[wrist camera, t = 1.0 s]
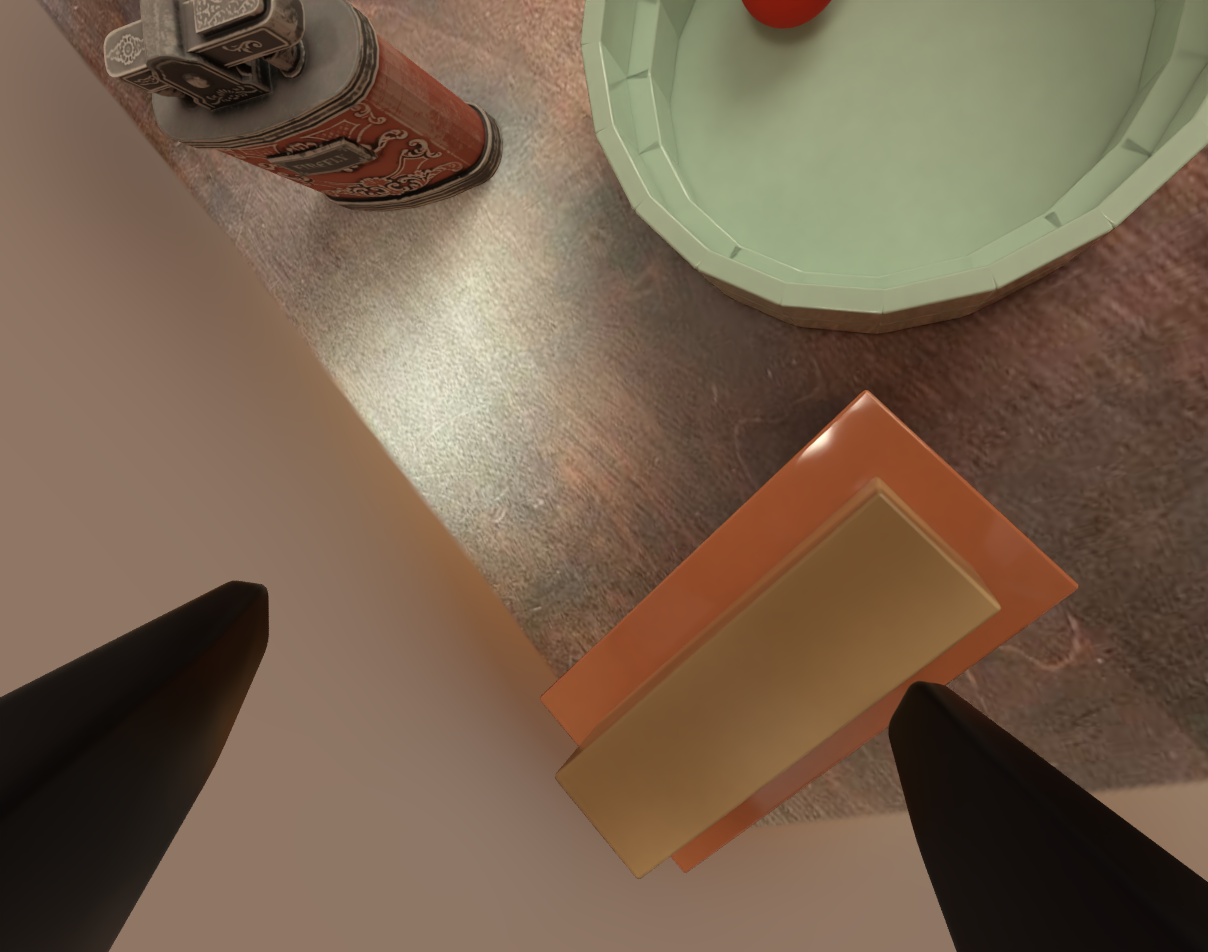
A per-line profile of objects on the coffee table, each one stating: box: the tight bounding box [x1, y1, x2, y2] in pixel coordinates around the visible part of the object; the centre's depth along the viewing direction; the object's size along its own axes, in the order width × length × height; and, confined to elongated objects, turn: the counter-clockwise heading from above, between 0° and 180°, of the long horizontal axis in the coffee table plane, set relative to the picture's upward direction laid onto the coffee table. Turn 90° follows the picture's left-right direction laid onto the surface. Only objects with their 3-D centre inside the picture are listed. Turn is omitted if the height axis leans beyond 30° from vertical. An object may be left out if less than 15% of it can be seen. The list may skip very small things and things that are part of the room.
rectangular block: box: [540, 390, 1079, 873], centre depth 18 cm, size 5×10×9 cm, turn 137°
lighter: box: [104, 0, 503, 211], centre depth 21 cm, size 8×3×10 cm, turn 93°
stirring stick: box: [555, 477, 1001, 879], centre depth 12 cm, size 2×8×3 cm, turn 136°
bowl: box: [581, 0, 1208, 334], centre depth 17 cm, size 15×15×5 cm
